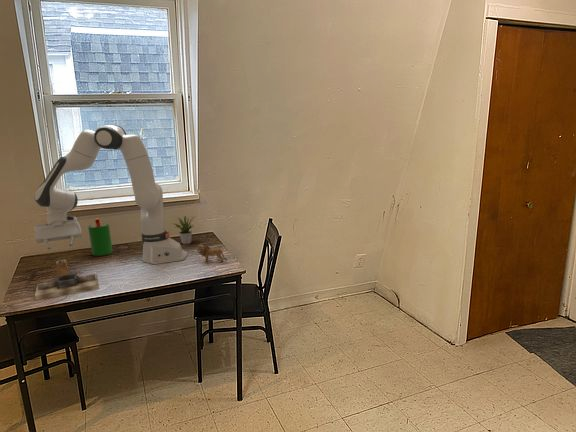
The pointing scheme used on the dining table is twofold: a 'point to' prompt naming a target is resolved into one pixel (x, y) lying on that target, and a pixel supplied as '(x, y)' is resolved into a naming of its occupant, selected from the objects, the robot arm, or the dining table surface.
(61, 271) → the block
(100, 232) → the motor
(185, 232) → the house plant
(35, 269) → the dining table surface
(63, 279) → the base
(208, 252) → the lion figurine
